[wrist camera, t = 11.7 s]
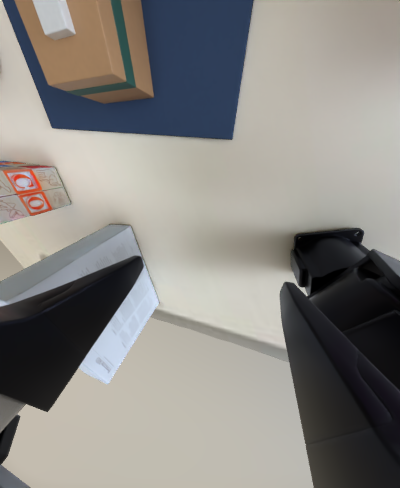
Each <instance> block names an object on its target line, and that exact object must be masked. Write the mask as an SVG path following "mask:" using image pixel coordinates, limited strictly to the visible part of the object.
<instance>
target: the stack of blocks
mask: <svg viewBox="0 0 400 488" xmlns="http://www.w3.org/2000/svg"><path fill="white" fill-rule="evenodd" d="M70 204H71V203H70V201H69V198H68V196H67V194H66V192H65V189H64V188H63V185H62V182H61V180H60V178H59V176H58V173H57V171H56V169H55V167H49V166H40V165H36V164H26V163H19V162H6V161H0V224H2V223H6V222H10V221H13V220H17V219H20V218H24V217H27V216H34V215H37V214H40V213H44V212H47V211H51V210H53V209H57V208H60V207H63V206H67V205H70Z"/></svg>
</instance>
